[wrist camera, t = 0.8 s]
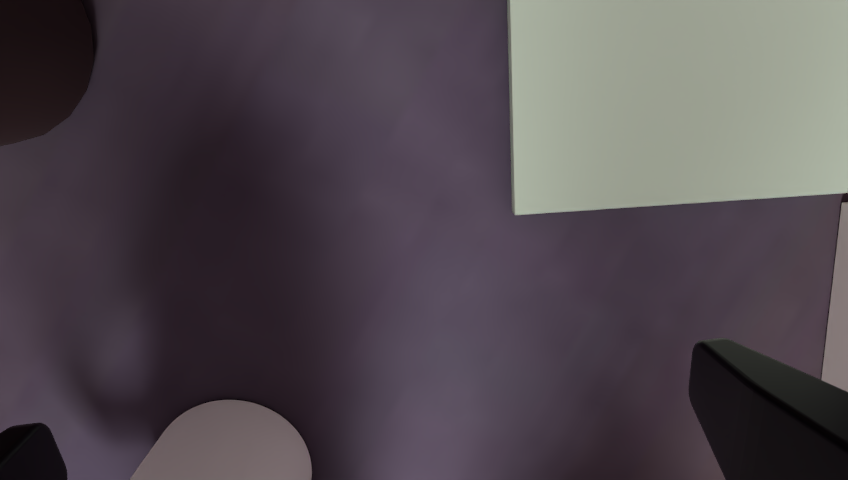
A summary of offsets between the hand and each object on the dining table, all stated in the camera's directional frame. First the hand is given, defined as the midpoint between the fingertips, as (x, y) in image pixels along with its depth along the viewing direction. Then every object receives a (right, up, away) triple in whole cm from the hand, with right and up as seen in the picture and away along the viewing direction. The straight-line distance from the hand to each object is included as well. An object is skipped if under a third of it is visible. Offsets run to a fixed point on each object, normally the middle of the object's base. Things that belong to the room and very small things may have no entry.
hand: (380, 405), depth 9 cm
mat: (+9, +10, +13) cm, 19 cm away
